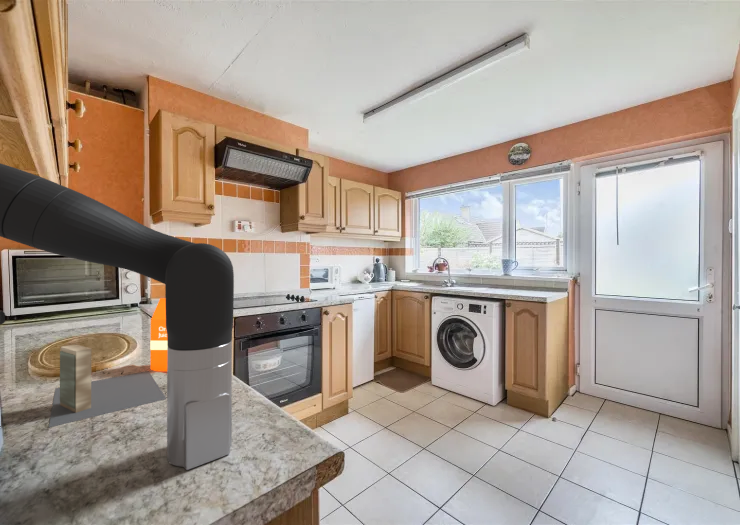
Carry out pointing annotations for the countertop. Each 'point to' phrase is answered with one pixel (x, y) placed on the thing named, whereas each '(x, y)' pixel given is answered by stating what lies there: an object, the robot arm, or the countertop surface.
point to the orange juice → (159, 338)
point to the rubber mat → (110, 397)
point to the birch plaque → (75, 377)
